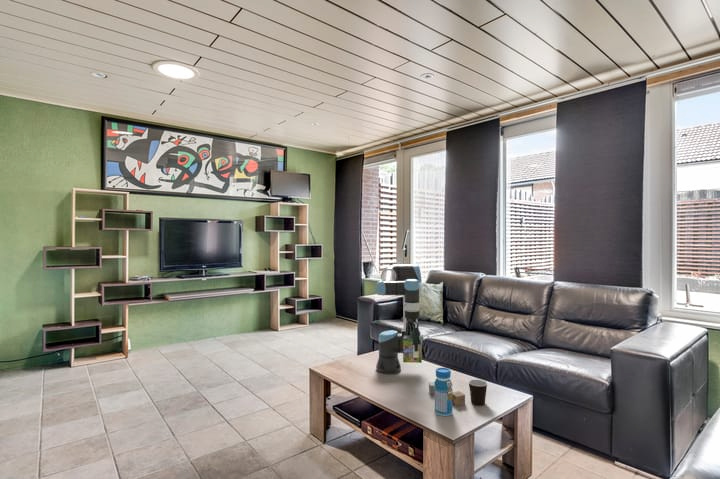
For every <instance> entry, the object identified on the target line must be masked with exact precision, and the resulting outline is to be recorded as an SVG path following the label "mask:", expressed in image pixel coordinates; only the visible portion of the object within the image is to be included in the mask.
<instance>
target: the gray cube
mask: <svg viewBox="0 0 720 479" xmlns="http://www.w3.org/2000/svg"><path fill="white" fill-rule="evenodd" d="M434 383H435V381H428V393H429V395H430V396H435V392H434V387H435V385H434Z"/></svg>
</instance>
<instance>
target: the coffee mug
mask: <svg viewBox="0 0 720 479" xmlns="http://www.w3.org/2000/svg"><path fill="white" fill-rule="evenodd" d="M468 387H469V395H470V401H471V402H470V403H471V404H472V405H474V406H477V407H483V406H485V404H486V396H487V390H488V389H487V388H488V383H487V382H486V381H485V380H482V379H471V380H469V381H468Z"/></svg>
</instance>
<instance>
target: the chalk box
mask: <svg viewBox="0 0 720 479" xmlns="http://www.w3.org/2000/svg"><path fill="white" fill-rule="evenodd" d="M419 338H420V344H419V358H413V345H412V343H413V338H412V332H411V331H410V335H404V337H403V353H402V357H403V358H402V360H403V363H413V364H414V363H415V364H417V363H418V364H419V363H420V364H422V361H423V358H422V357H423V354H422V353H423V352H422V349H423V348H421V336H419Z"/></svg>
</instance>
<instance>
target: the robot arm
mask: <svg viewBox="0 0 720 479" xmlns="http://www.w3.org/2000/svg"><path fill="white" fill-rule="evenodd" d="M420 284H422V273H421V268H420V265H418V264H412V263H411V264H410V263H409V264H408V263H407V264H392V265H389V266H386V267H384V269H382V271H381V273H380V280H379V281H376V295H378V296H382V297H383V296H403V297H402V305H403V308H402V309H403V311H402V312H403V328H402V329H401V331H400V333H398V331H397V330H393V329H390V330H385V331H382V332H380V333H379V335H378V359H377V362H376V366H375V369H376V372H378V373H381V374H387V375H392V374H397V373H399V372H401V371H402V370H401V369H402V367H401V362H400V360H399V354H403V337H404V335H410V331H411V332H412V338H413V343H412V345H413V358H419V344H420V338H419V336H421V349H423V338H424V337H423V333H421V330H420V329H419V322H418V319H420V317H421V316H420V309H421V307H420V306H421V305H420V304H421V303H420V288H421V286H420Z"/></svg>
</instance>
